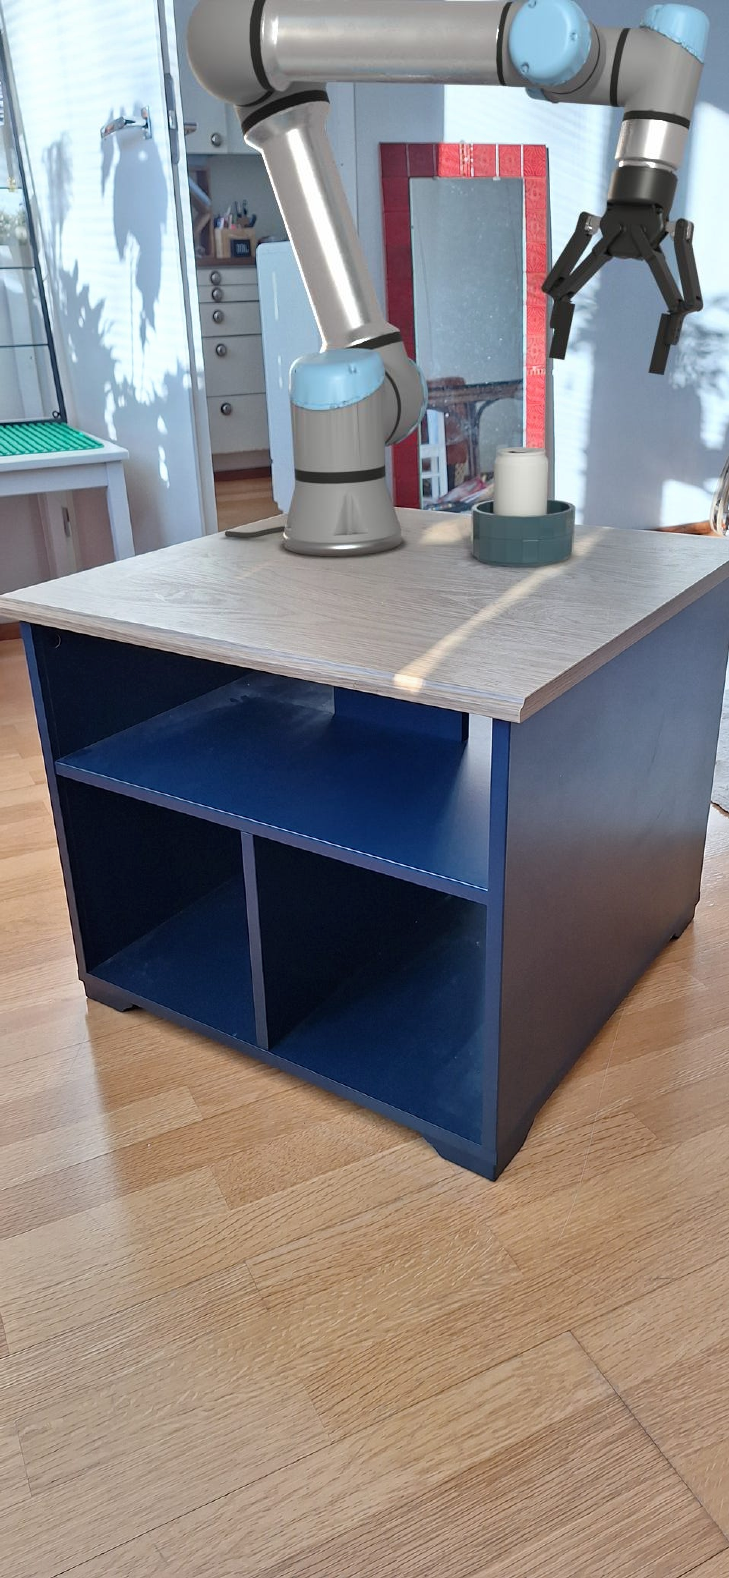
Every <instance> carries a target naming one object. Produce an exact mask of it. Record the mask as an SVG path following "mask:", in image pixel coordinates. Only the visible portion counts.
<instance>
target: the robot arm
mask: <svg viewBox="0 0 729 1578" xmlns="http://www.w3.org/2000/svg"><path fill="white" fill-rule="evenodd" d="M710 29H711V22H710V20H709V18H708V15H707V14H706V13H704V12H703V11H702V10H700V9H698V8H696V7H694V6H691V5H686V4H680V3H665V4H660V3H659V4H655V5H651V6H650V7H648V8H647V9H646V10H645V11H644V13H643V17H642V19H641V22H640V23H639V27H616V26H615V27H614V26H606V25H605V26H604V25H595V24H594V23H593V22H592V21H591V20H590V19H589V17H587V15H586V14H585V13H584V11H583V9H582V8H581V6H579V5H578V3H576V2H575V1H574V0H517V1H516V0H515V1H511V0H199V1H198V2H197V4H196V5H195V6H194V8H193V10H192V12H191V13H190V16H189V19H188V22H187V26H186V31H185V32H186V33H185V50H186V56H187V57H186V58H187V61H188V64H189V67H190V69H191V72H192V74H193V75H194V77H195V79H196V80H197V82H198V83H199V85H200V86H201V87H202V88H203V90H204V91H205V92H207V93H208V94H209V95H211V96H212V97H213V98H214V99H217V100H218V101H221V102H223V103H225V104H229V105H232V106H233V108H234V111H235V115H236V118H237V121H238V123H239V127H240V130H241V133H242V135H243V139H244V141H245V143H246V144H247V145H249V146H250V147H252V148H254V149H256V150H257V151H259V152H260V153H261V155H262V158H263V161H264V165H265V167H266V171H267V174H268V177H269V179H270V183H271V187H272V188H273V189H272V190H273V191H274V195H275V199H276V201H277V204H278V207H279V210H280V214H281V216H282V219H283V222H284V225H285V229H286V232H287V235H288V238H289V241H290V244H291V248H292V251H293V253H294V256H295V259H296V262H297V265H298V268H299V272H300V274H301V278H302V281H303V284H304V287H305V290H306V294H307V296H308V299H309V303H310V305H311V308H312V312H313V315H314V317H315V320H316V323H317V327H318V331H319V332H320V335H321V336H320V337H321V339H322V347H321V348H320V351H319V352H316V351H315V352H311V353H308V354H305V355H302V356H301V357H298V358H297V359H296V360H294V361H293V363H292V364H291V366H290V369H289V386H288V389H287V391H288V397H289V407H290V408H289V409H290V421H291V423H290V424H291V438H292V439H291V440H292V454H293V469H294V470H293V471H294V472H293V473H294V490H293V493H292V496H291V501H290V505H289V509H288V514H287V518H286V524H285V525H281V526H276V527H270V528H265V529H261V530H256V531H249V532H246V531H245V532H243V531H233V530H225V531H224V536H225V537H227V538H237V539H253V538H259V537H263V536H268V535H272V534H279V533H283V544H284V545H283V546H284V548H285V549H286V550H288V551H290V552H293V553H297V554H301V555H308V556H318V557H319V556H320V557H321V556H322V557H344V556H345V557H346V556H347V557H348V556H349V557H350V556H360V555H361V556H362V555H369V554H376V553H381V552H385V551H388V550H391V549H394V548H397V547H398V546H400V544H402V528H401V523H400V521H399V520H398V516H397V513H396V509H395V506H394V503H393V502H394V501H393V500H392V497H391V494H390V491H389V488H388V485H387V476H386V474H387V473H386V469H387V468H386V448H387V447H390V446H393V445H396V444H398V443H401V442H402V441H404V440H405V439H406V438H408V436H410V435H411V434H413V432H414V431H415V430H416V429H417V428H418V427H419V425H420V424H421V422H422V421H423V420H424V416H425V414H426V412H427V409H428V402H429V390H428V389H429V388H428V384H427V383H428V382H427V379H426V377H425V375H424V372H423V371H422V369H421V368H420V366H419V365H418V364H417V363H416V362H415V361H414V360H413V359H411V358H410V357H409V356H408V352H407V349H406V347H405V343H404V341H403V337H402V334H401V331H400V328H397V327H396V326H394V325H393V324H391V323H389V322H387V320H386V319H385V318H384V315H383V312H382V308H381V305H380V301H379V298H378V295H377V292H376V289H375V286H374V282H373V279H372V276H371V273H370V270H369V269H370V268H369V265H368V263H367V259H366V256H365V253H364V249H363V246H362V243H361V240H360V236H359V234H358V230H357V227H356V224H355V221H354V217H353V214H352V211H351V207H350V203H349V202H348V198H347V195H346V192H345V188H344V184H343V181H342V179H341V175H340V171H339V169H338V166H337V161H336V159H335V155H334V153H333V149H332V146H331V143H330V140H329V139H330V138H329V136H328V133H327V130H326V125H327V122H328V120H329V117H330V115H331V113H332V109H333V107H332V105H331V101H330V99H329V95H328V91H327V88H326V87H327V84H328V83H350V84H351V83H352V84H353V83H355V84H356V83H357V84H396V85H397V84H401V85H402V84H403V85H441V86H442V85H446V86H489V87H491V86H493V87H508V88H524V91H525V93H526V95H527V96H528V97H529V98H530V99H532V100H538V101H545V102H548V103H551V104H554V105H555V104H559V103H563V104H578V105H591V106H608V107H612V108H624V110H623V111H624V113H623V116H622V121H621V122H622V123H621V127H620V132H619V137H618V141H617V146H616V150H615V156H614V162H615V163H616V165H618V166H616V167H615V168H614V169H613V170H612V171H611V176H610V181H609V186H608V189H607V190H608V191H607V196H606V209H605V211H604V213H603V215H602V216H599V215H595V214H593V213H591V212H588V211H585V210H584V211H581V212H580V213H579V215H578V219H577V222H576V226H575V229H574V232H573V234H572V235H571V237H570V238H569V240H568V241H567V243H566V245H565V246H564V249H563V250H562V252H561V253H560V255H559V256H558V258H557V260H556V261H555V263H554V265H553V267H552V268H551V270H550V271H549V272H548V275H547V276H546V278H545V279H544V281H543V283H542V284H541V292H542V293H545V294H546V295H548V296H550V297H551V298H552V300H553V304H552V309H551V315H550V319H549V329H552V330H553V332H552V339H551V343H550V348H549V353H548V358H549V359H554V360H560V361H561V360H562V361H565V360H566V356H567V355H566V354H567V349H568V344H569V339H570V334H571V329H572V325H573V318H574V314H575V309H576V303H573V300H572V299H573V298H574V297H575V295H577V294H578V293H579V292H580V290H581V289H583V287H584V286H585V285H586V284H587V283H588V282H589V281H590V280H591V279H592V278H593V277H594V276H595V275H596V274H597V273H598V272H599V270H601V269H602V268H603V266H604V265H605V264H606V263H609V262H610V261H611V260H613V258H616V259H619V260H628V259H632V260H634V261H637V262H639V261H640V262H643V261H645V263H646V264H647V265H648V268H649V270H650V272H651V274H652V276H653V278H654V280H655V283H656V285H657V287H658V289H659V292H660V294H661V296H662V299H663V301H664V302H665V304H666V307H667V310H666V312H667V313H663V312H662V313H661V314H660V318H659V323H658V327H657V333H656V337H655V342H654V346H653V350H652V355H651V358H650V359H651V360H650V363H649V368H648V374H654V375H658V376H659V375H660V376H664V375H665V371H666V369H667V363H668V359H669V354H670V351H671V350H670V349H671V346H677V345H678V344H679V341H680V338H681V332H682V328H683V325H684V319H685V317H687V315H689V314H692V313H695V312H696V313H699V312H701V311H702V310H703V309H704V300H703V294H702V290H701V289H702V288H701V284H700V278H699V273H698V269H697V268H698V267H697V262H696V257H695V253H694V247H693V239H694V232H695V224H694V222H693V221H691V220H688V219H685V218H683V217H680V218H678V219H677V220H674V221H673V220H672V221H670V214H671V211H672V208H673V206H674V205H673V204H674V200H675V195H676V191H677V186H678V181H679V179H678V176H677V174H675V172H678V171H679V170H680V169H681V167H682V162H683V158H684V155H685V154H684V153H685V148H686V144H687V139H688V136H689V135H688V134H689V130H690V125H691V121H692V117H693V113H694V109H695V105H696V100H697V96H698V91H699V88H700V87H699V86H700V83H701V79H702V74H703V70H704V67H705V58H706V52H707V45H708V40H709V35H710ZM598 231H600V233H601V235H602V237H601V238H600V239H599V240H598V241H597V242H596V243H595V244H594V246H593V247H592V248H591V250H590V251H591V252H590V253H589V254H587V256H586V257H585V258H583V260H582V261H581V262H580V263H579V260H580V259H581V257H582V256H583V255H584V253H585V251H586V249H587V248H588V246H589V244H590V243H591V241H592V238H593V236H595V235H596V234H598ZM667 236H669V238H670V240H671V241H673V249H674V254H675V259H676V266H677V269H678V275H679V281H680V285H681V291H682V293H681V291H680V288H679V286H678V284H677V282H676V281H675V278H674V275H673V274H672V272H671V269H670V267H669V265H668V262H667V258H666V255H665V253H664V250H663V248H662V247H661V243H662V242H663V241H664V240H665V239H666V238H667ZM578 263H579V265H577V264H578ZM576 265H577V267H576ZM575 267H576V268H575Z"/></svg>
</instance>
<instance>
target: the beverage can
mask: <svg viewBox="0 0 729 1578" xmlns="http://www.w3.org/2000/svg"><path fill="white" fill-rule="evenodd" d="M546 453H547V450H546V448H541V447H533V446H517V447H504V448H500V449H497V456H496V457H495V459H494V461H493V500H494V501H493V514H498V515H513V516H529V515H545V514H547V499H548V492H549V491H548V489H549V487H548V485H549V463H550V462H549V458H548V457H547V456H546Z"/></svg>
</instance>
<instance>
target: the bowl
mask: <svg viewBox="0 0 729 1578" xmlns="http://www.w3.org/2000/svg"><path fill="white" fill-rule="evenodd" d="M493 501H494V499H492V500H485V501H481V502H479V503H478V502H477V503H475V504H474V505H472V506H471V512H470V513H471V515H470V517H471V518H470V519H471V521H470V522H471V524H470V529H471V530H470V553H471V555H472V556H474V557H475V559H476V560H477V561H479V562H480V563H484V564H487V565H491V566H497V567H508V568H536V567H546V566H552V565H557V564H561V563H563V562H566V561H567V560H568V559H569V557H571V556H572V555H573V553H574V551H575V549H574V548H575V530H576V529H575V527H576V506H575V505H574V504H573V503H571V502H568V501H564V500H558V499H551V498H547V514H545V515H529V516H513V515H498V514H493Z"/></svg>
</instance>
